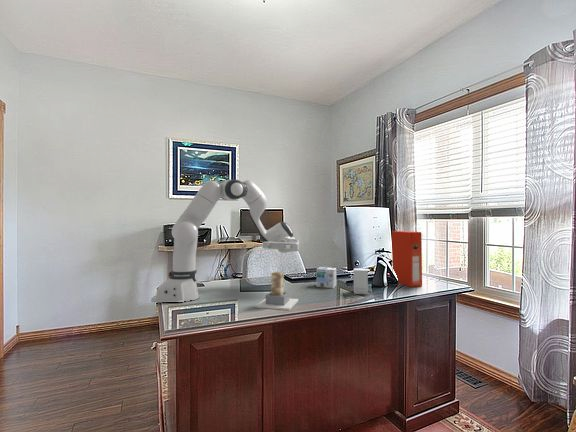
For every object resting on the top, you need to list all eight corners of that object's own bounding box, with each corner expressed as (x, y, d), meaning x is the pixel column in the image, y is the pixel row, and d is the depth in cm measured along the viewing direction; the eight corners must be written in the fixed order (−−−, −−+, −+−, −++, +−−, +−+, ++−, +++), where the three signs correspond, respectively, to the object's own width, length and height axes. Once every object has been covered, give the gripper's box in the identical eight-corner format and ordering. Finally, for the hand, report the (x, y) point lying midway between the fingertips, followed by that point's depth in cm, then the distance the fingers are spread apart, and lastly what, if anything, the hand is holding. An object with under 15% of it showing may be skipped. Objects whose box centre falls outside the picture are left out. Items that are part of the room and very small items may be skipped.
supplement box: (368, 294, 161) (367, 270, 161) (353, 293, 163) (353, 270, 163) (367, 291, 169) (367, 268, 169) (353, 290, 170) (353, 267, 170)
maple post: (271, 303, 142) (271, 273, 143) (274, 300, 147) (274, 271, 147) (280, 303, 141) (280, 273, 141) (283, 301, 146) (283, 271, 146)
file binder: (410, 287, 178) (410, 232, 178) (392, 281, 194) (392, 231, 194) (422, 286, 180) (421, 232, 180) (402, 280, 196) (402, 231, 197)
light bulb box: (316, 286, 180) (316, 268, 180) (319, 284, 186) (319, 266, 186) (334, 288, 176) (333, 269, 176) (336, 285, 182) (336, 267, 182)
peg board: (255, 307, 138) (255, 296, 138) (267, 298, 154) (267, 288, 154) (289, 310, 134) (289, 299, 134) (298, 300, 149) (298, 290, 150)
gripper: (267, 238, 176) (258, 239, 163) (301, 239, 171) (295, 241, 157) (266, 249, 176) (257, 251, 163) (301, 251, 170) (295, 253, 157)
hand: (276, 246), depth 160 cm, fingers open, 8 cm apart
